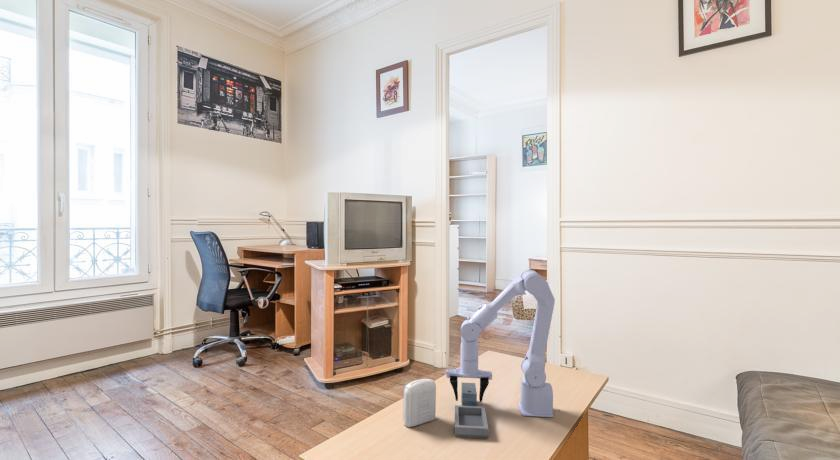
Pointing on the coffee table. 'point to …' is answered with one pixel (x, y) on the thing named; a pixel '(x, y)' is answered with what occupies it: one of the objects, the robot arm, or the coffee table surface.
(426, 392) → the photo printer
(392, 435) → the coffee table surface
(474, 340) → the robot arm
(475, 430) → the lock cradle
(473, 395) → the block
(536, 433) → the coffee table surface
